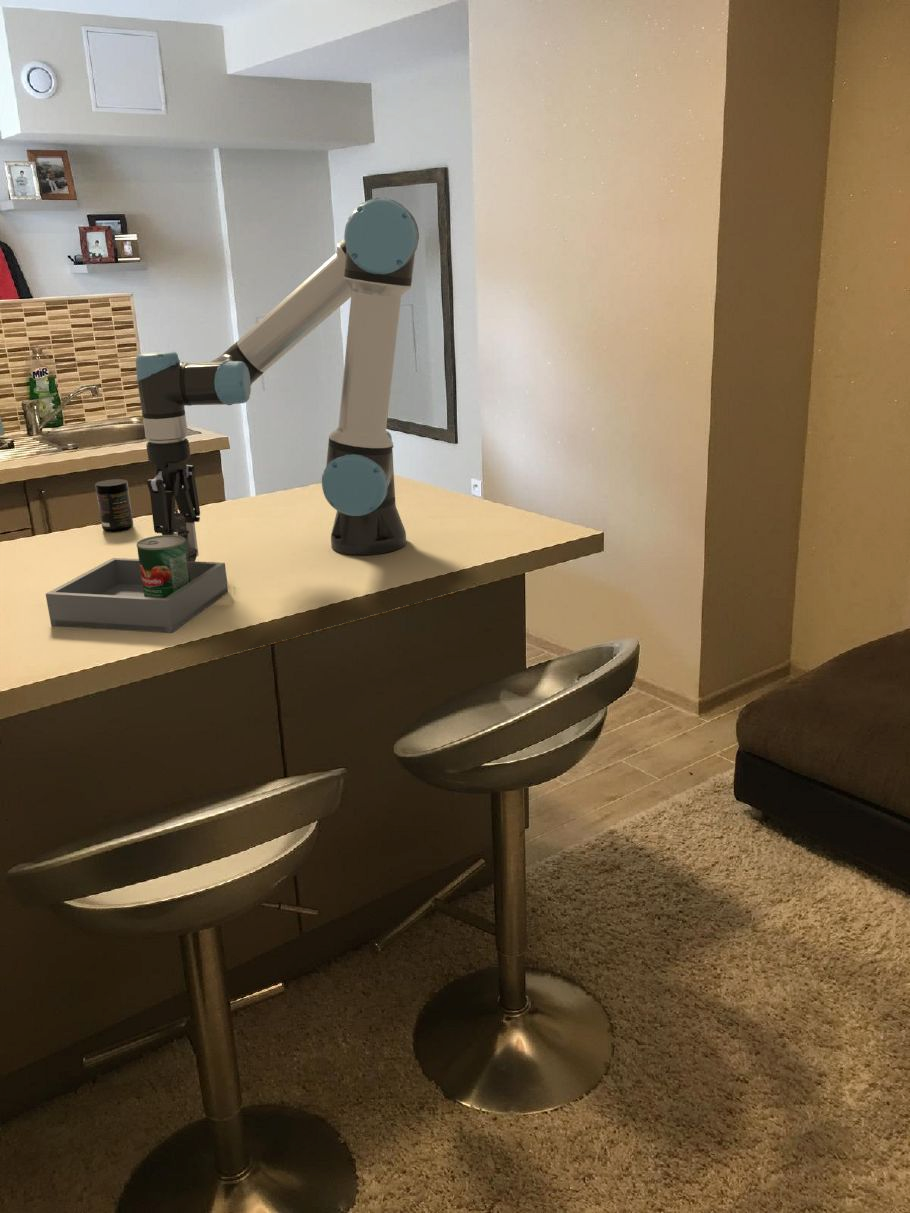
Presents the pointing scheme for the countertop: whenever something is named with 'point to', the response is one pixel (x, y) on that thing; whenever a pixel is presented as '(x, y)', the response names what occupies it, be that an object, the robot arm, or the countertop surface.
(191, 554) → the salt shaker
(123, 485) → the supplement container
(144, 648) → the countertop surface
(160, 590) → the canned tomato
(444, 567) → the countertop surface
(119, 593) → the tote
